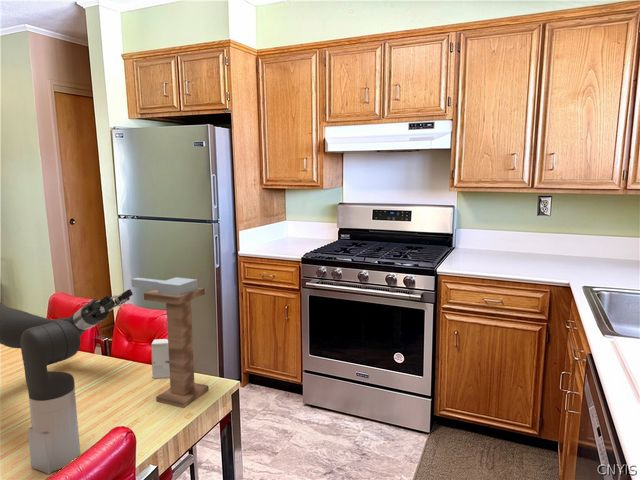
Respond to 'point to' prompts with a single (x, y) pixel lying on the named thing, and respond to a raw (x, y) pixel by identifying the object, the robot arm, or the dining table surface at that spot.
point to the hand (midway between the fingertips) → (120, 295)
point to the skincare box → (160, 358)
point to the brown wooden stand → (179, 348)
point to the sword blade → (167, 285)
